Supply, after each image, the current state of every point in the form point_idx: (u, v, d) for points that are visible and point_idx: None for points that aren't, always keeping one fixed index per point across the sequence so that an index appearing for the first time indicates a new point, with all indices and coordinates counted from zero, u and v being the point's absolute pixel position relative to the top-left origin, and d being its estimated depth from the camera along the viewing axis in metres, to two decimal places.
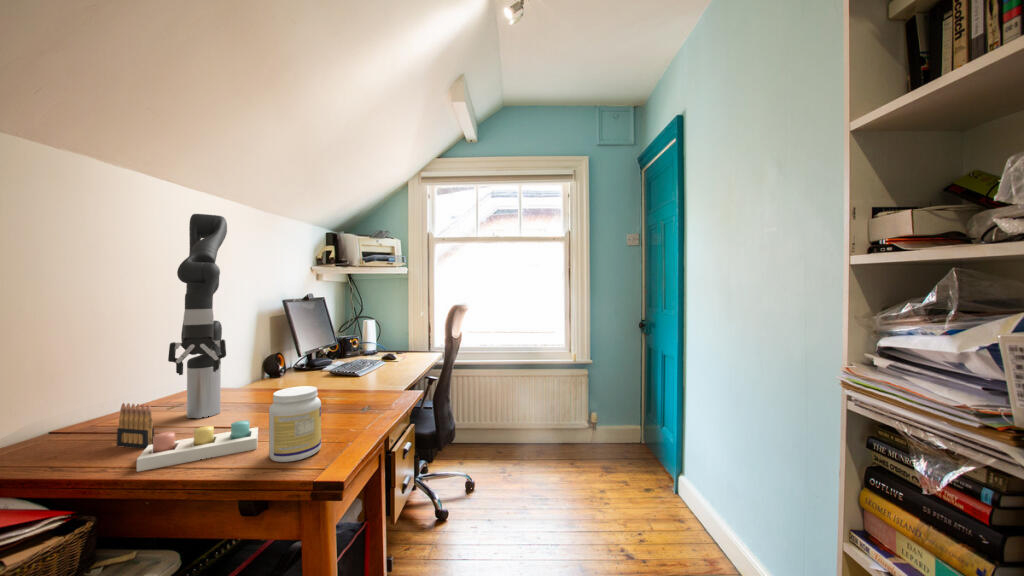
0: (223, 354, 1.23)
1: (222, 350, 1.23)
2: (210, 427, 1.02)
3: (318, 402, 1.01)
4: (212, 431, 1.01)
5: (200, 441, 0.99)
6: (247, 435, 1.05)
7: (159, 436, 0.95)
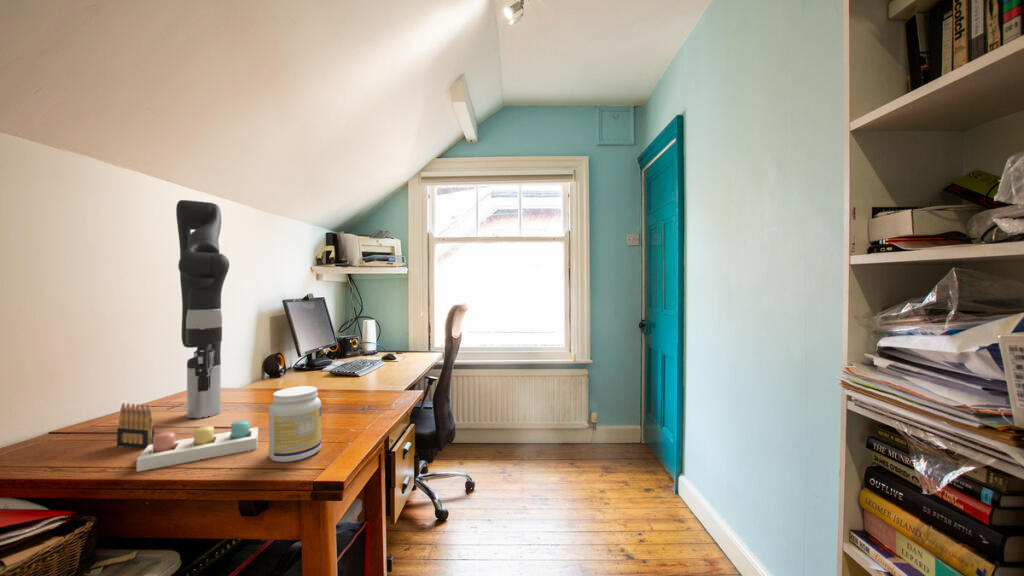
0: (212, 366, 1.05)
1: None
2: (210, 427, 1.02)
3: (318, 402, 1.01)
4: (212, 431, 1.01)
5: (200, 441, 0.99)
6: (247, 435, 1.05)
7: (159, 436, 0.95)
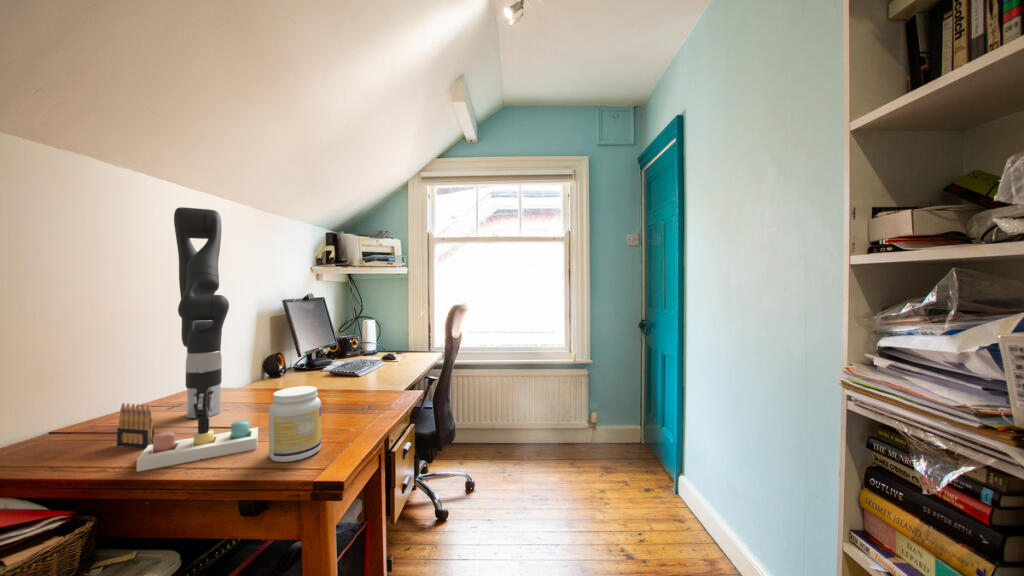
0: (211, 409, 1.04)
1: None
2: (210, 430, 1.02)
3: (318, 402, 1.01)
4: (212, 435, 1.01)
5: None
6: (247, 435, 1.05)
7: (159, 436, 0.95)
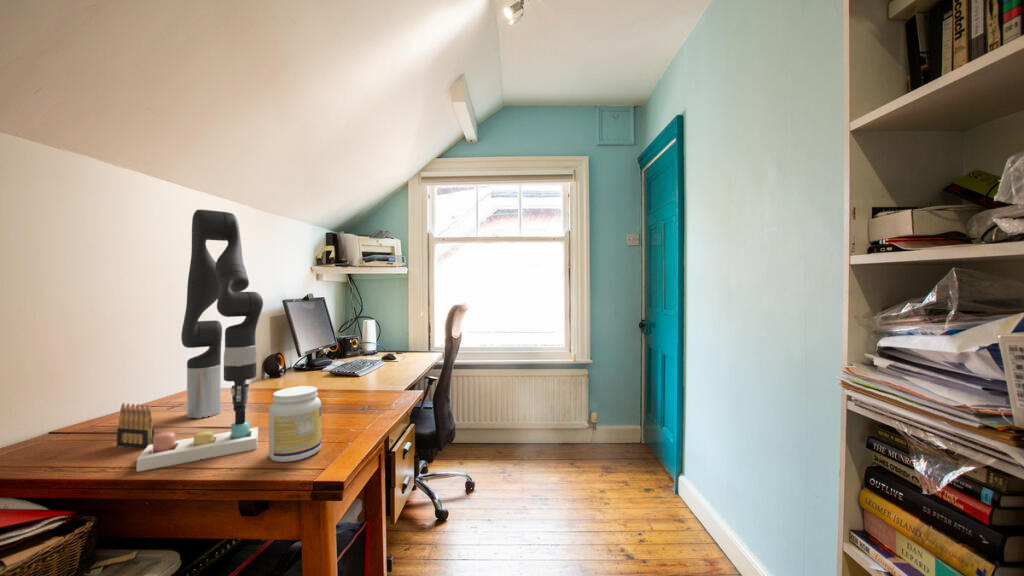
0: None
1: None
2: (210, 432, 1.02)
3: (318, 402, 1.01)
4: (212, 436, 1.01)
5: None
6: (247, 435, 1.05)
7: (159, 436, 0.95)
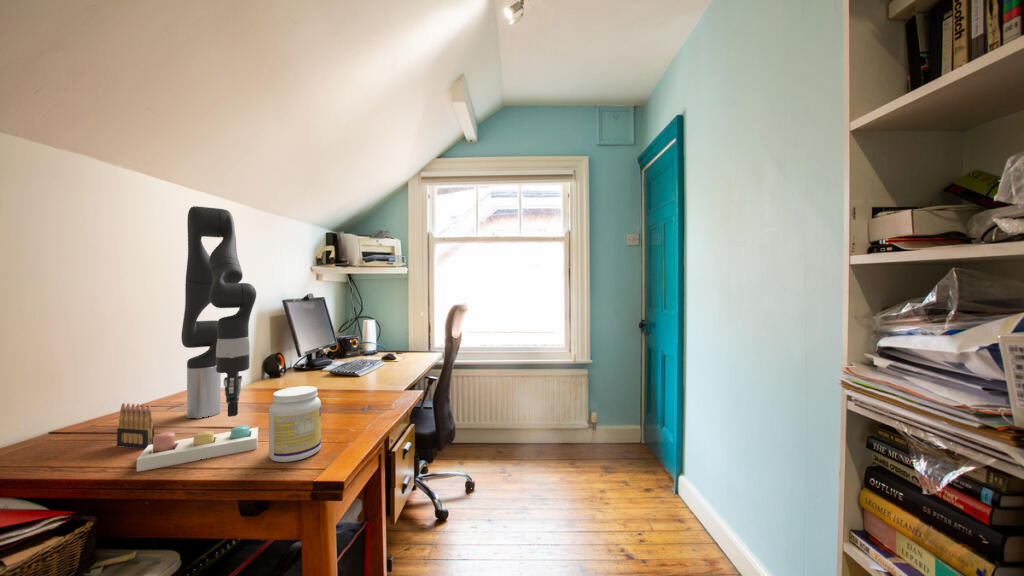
0: None
1: None
2: (210, 432, 1.02)
3: (318, 402, 1.01)
4: (212, 436, 1.01)
5: None
6: None
7: (159, 436, 0.95)
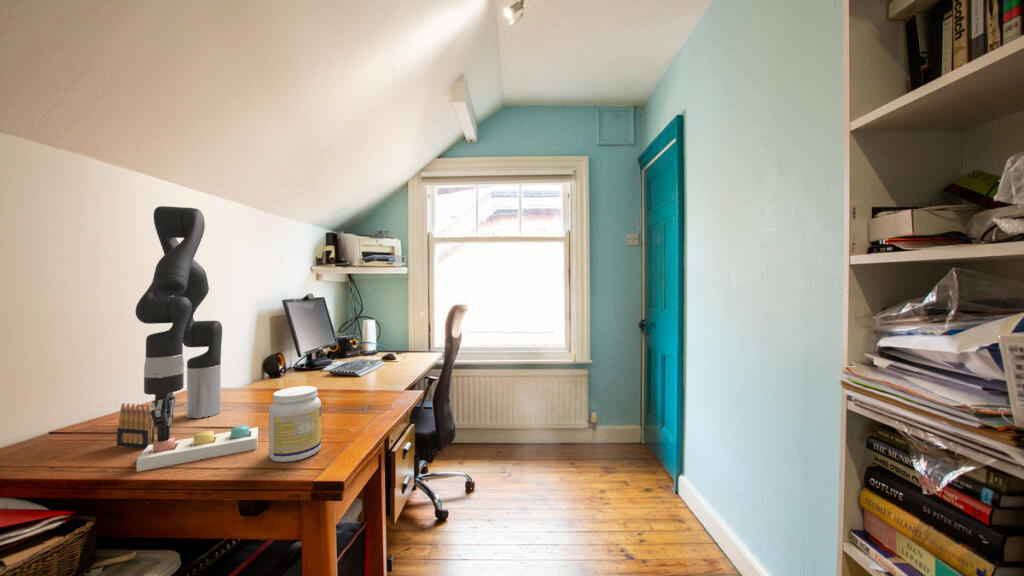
0: None
1: None
2: (210, 432, 1.02)
3: (318, 402, 1.01)
4: (212, 436, 1.01)
5: None
6: None
7: None
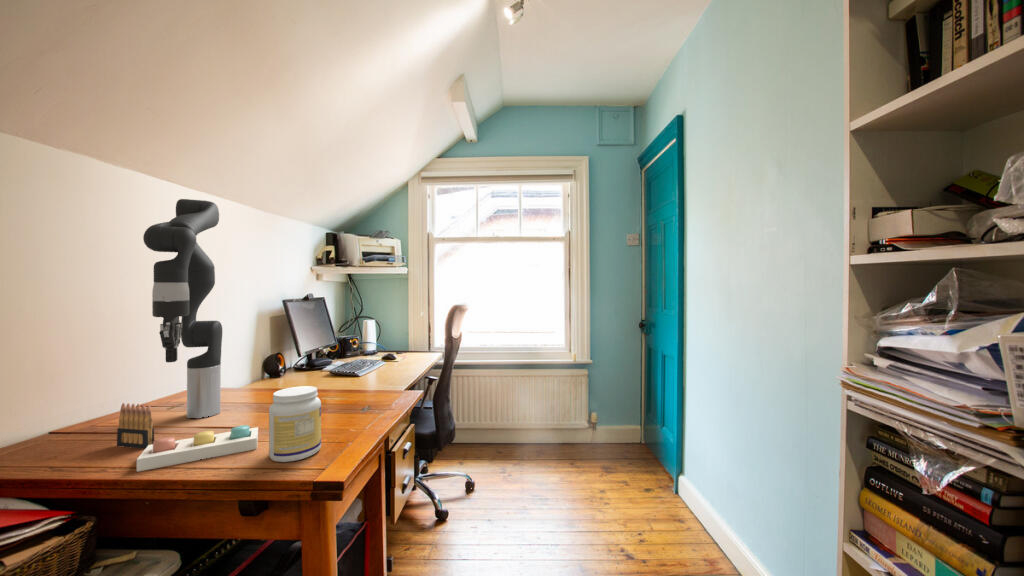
0: (179, 340, 1.06)
1: None
2: (210, 432, 1.02)
3: (318, 402, 1.01)
4: (212, 436, 1.01)
5: None
6: None
7: (159, 441, 0.95)
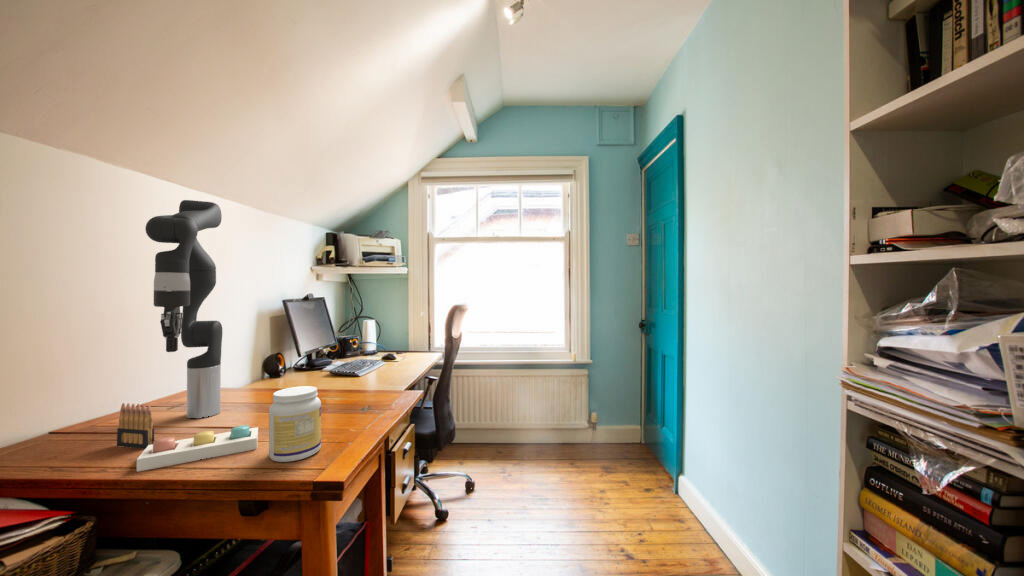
0: (180, 331, 1.07)
1: None
2: (210, 432, 1.02)
3: (318, 402, 1.01)
4: (212, 436, 1.01)
5: None
6: None
7: (159, 441, 0.95)
